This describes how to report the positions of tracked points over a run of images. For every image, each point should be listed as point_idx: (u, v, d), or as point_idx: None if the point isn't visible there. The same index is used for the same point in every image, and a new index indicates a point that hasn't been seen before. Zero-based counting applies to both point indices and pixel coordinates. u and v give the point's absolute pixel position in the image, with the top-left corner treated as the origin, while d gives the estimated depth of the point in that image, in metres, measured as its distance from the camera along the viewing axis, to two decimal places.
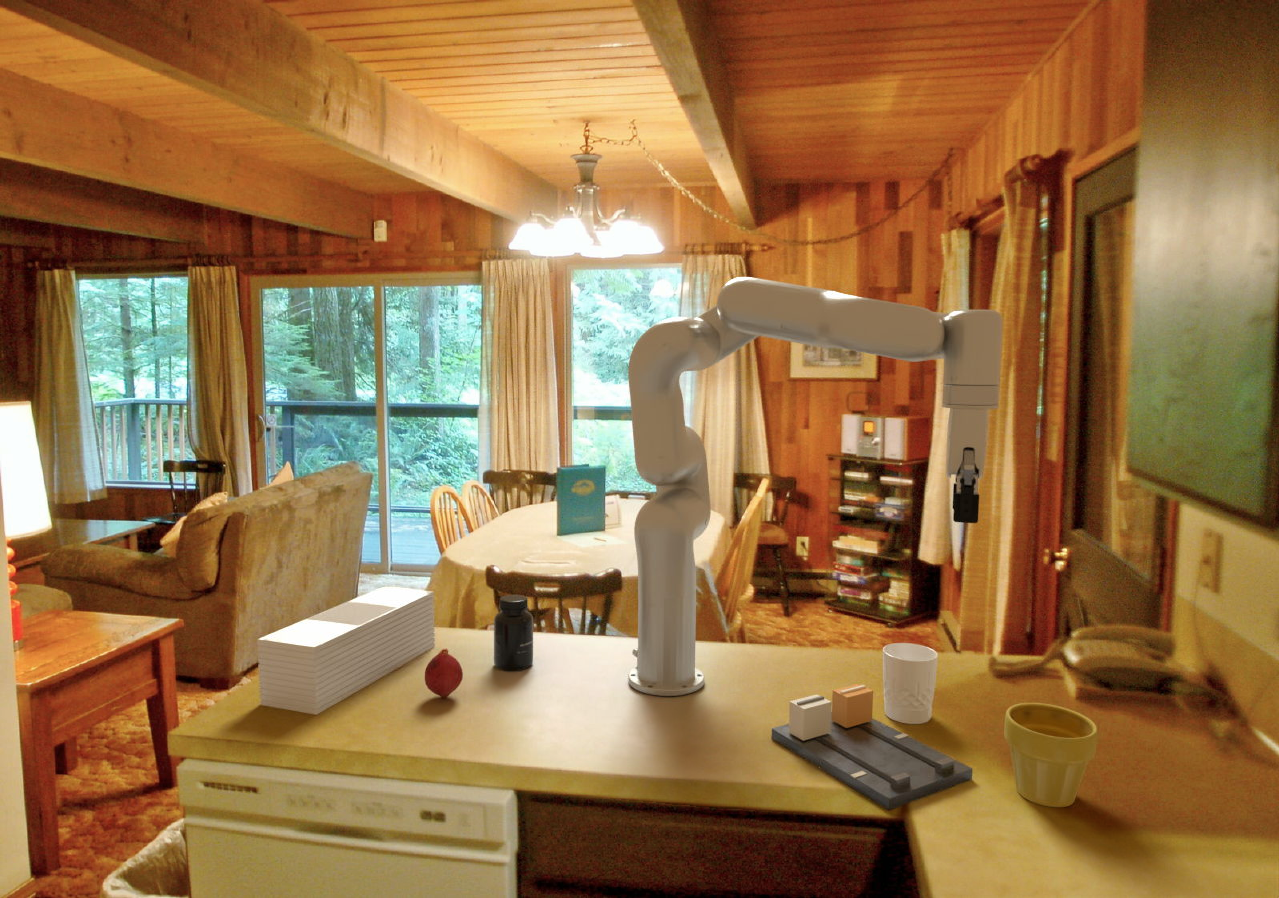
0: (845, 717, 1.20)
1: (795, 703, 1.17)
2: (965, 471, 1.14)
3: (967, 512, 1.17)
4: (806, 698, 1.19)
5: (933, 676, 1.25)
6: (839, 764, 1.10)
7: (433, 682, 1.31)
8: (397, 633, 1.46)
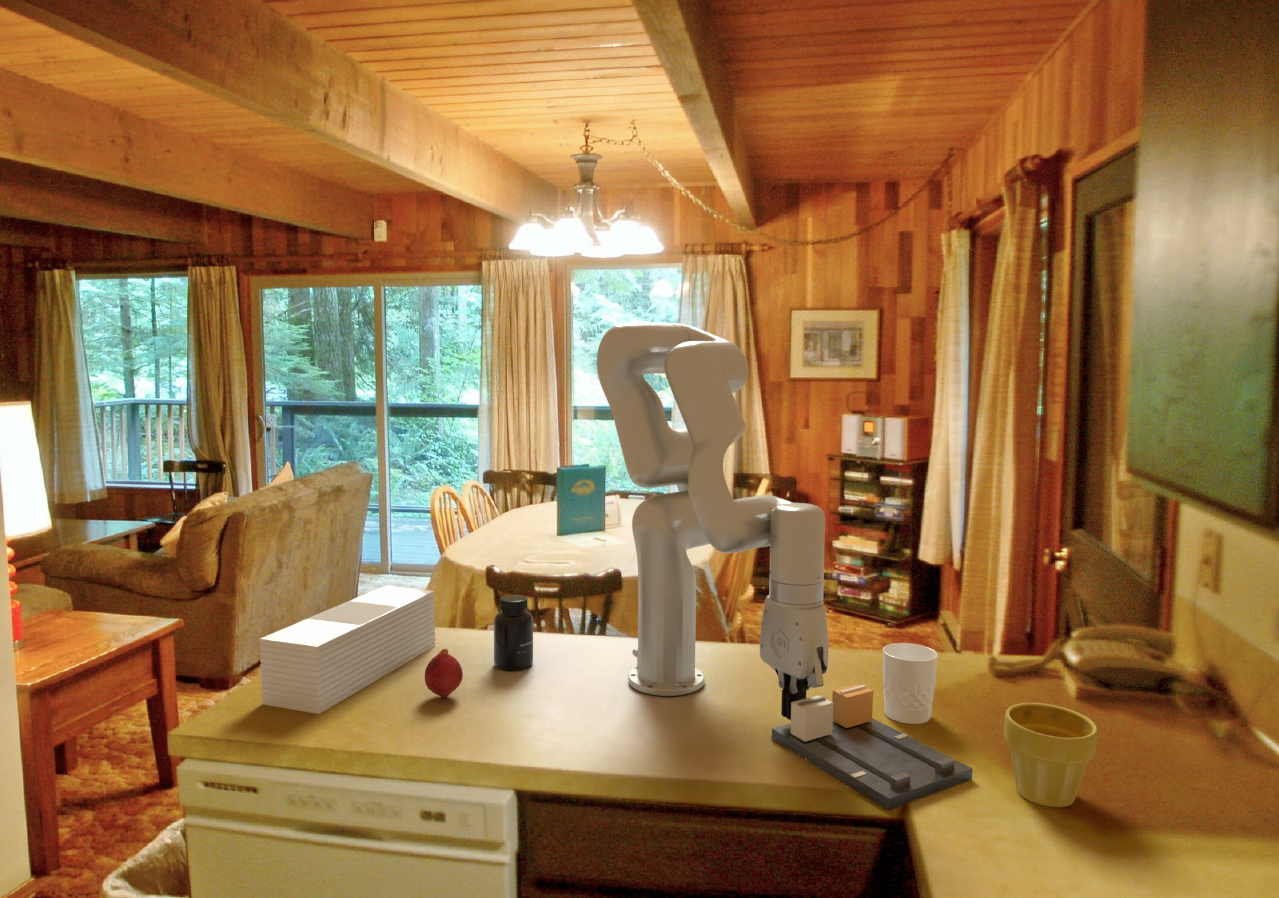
0: (845, 717, 1.20)
1: (797, 704, 1.17)
2: None
3: None
4: (808, 699, 1.19)
5: (933, 676, 1.25)
6: (839, 764, 1.10)
7: (433, 682, 1.31)
8: (398, 632, 1.47)
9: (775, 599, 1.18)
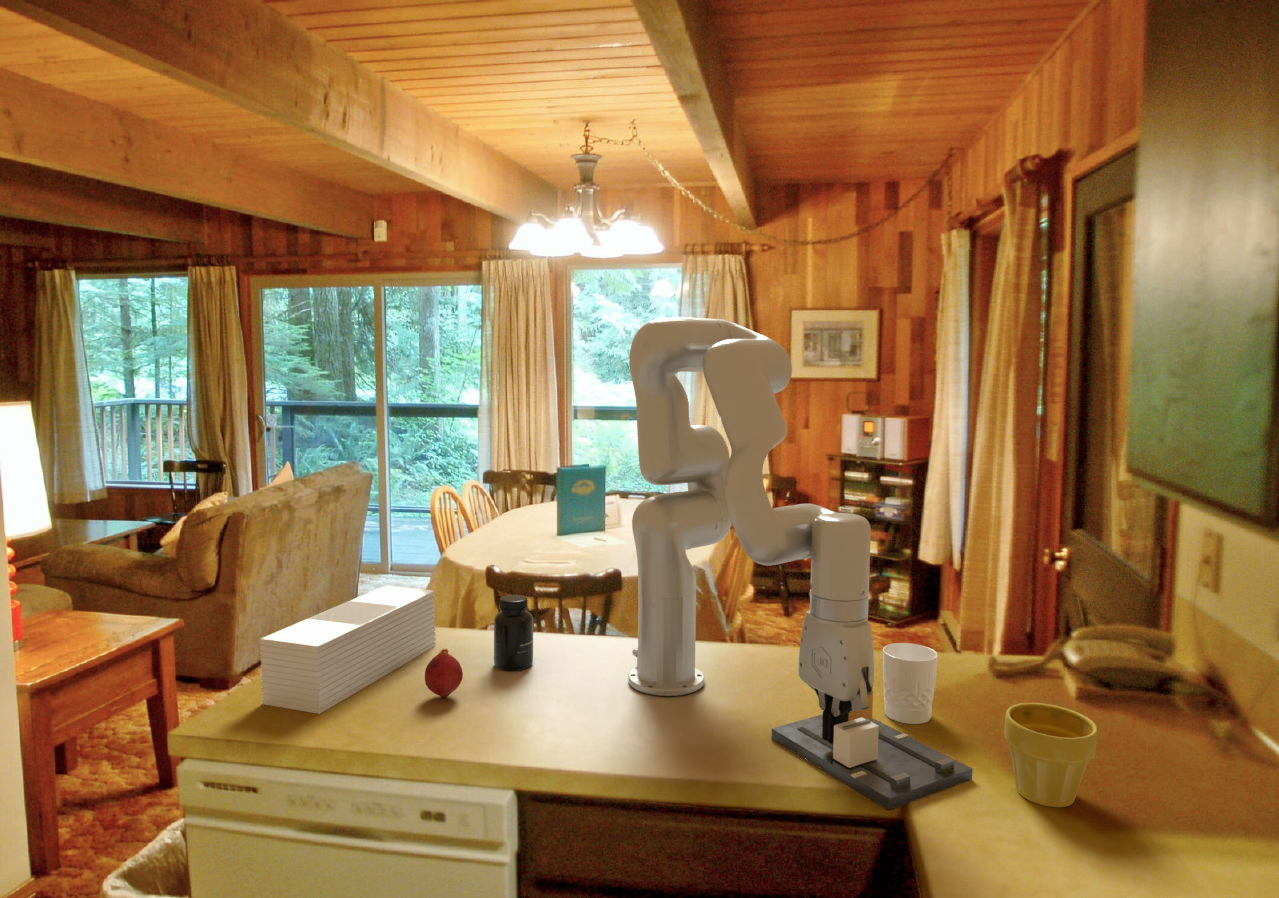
0: None
1: (840, 727, 1.10)
2: (859, 709, 1.09)
3: None
4: (851, 722, 1.11)
5: (933, 676, 1.25)
6: (839, 764, 1.10)
7: (433, 682, 1.31)
8: (398, 632, 1.47)
9: (817, 615, 1.10)
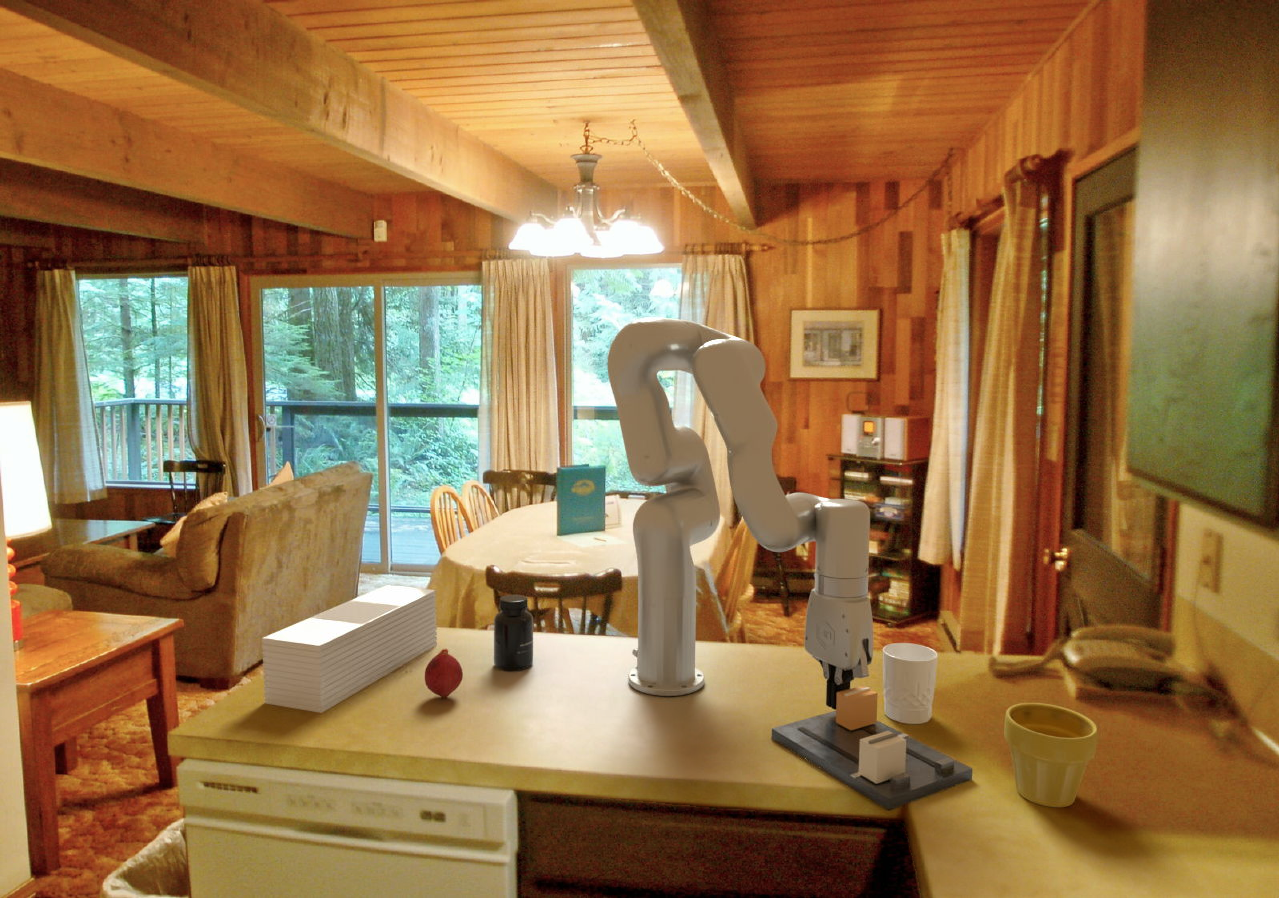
0: (850, 719, 1.19)
1: (866, 741, 1.06)
2: (860, 677, 1.20)
3: None
4: (877, 735, 1.07)
5: (933, 676, 1.25)
6: (839, 764, 1.10)
7: (433, 682, 1.31)
8: (400, 632, 1.47)
9: (821, 592, 1.21)
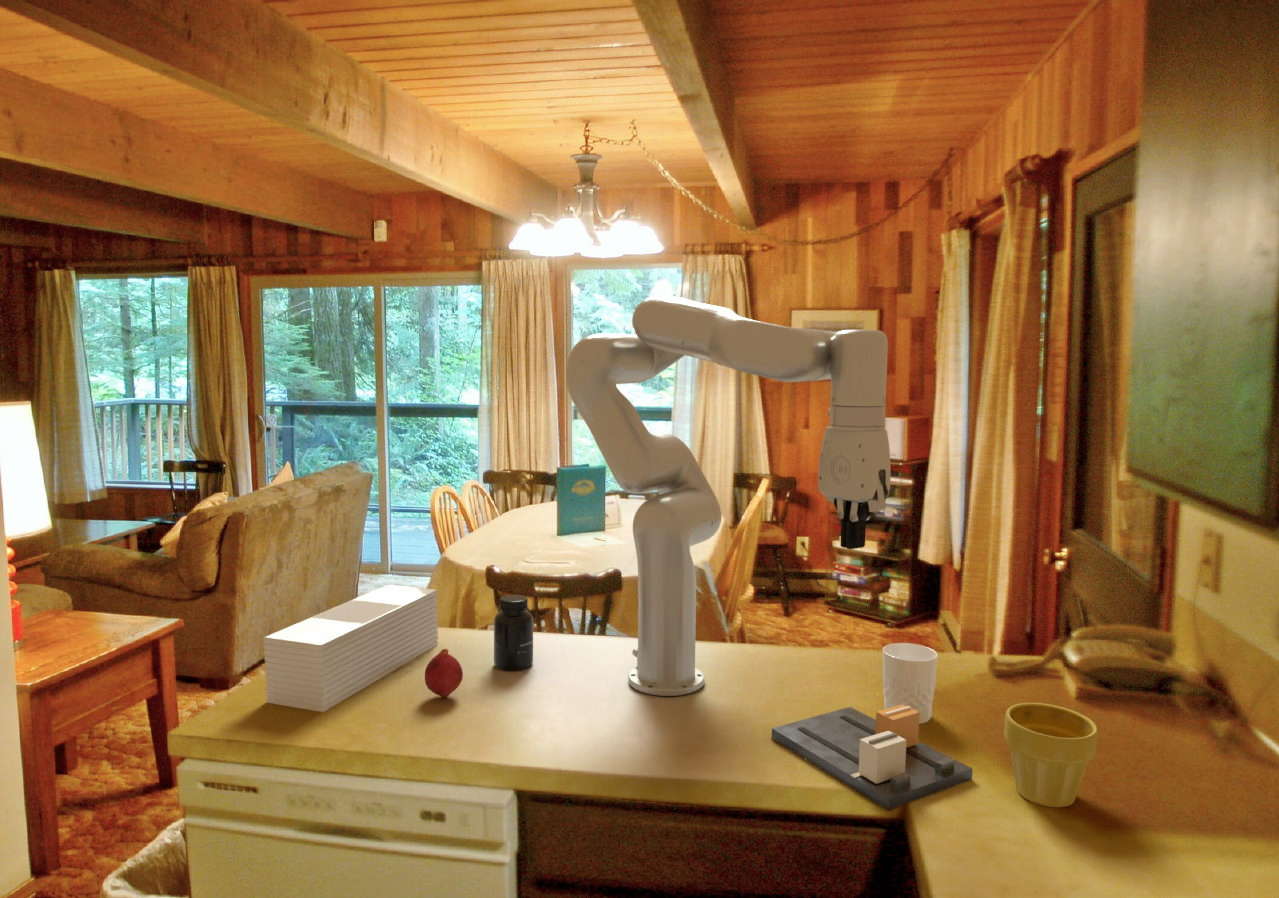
0: None
1: (866, 741, 1.06)
2: None
3: (861, 538, 1.19)
4: (877, 735, 1.07)
5: (933, 676, 1.25)
6: (839, 764, 1.10)
7: (433, 682, 1.31)
8: (401, 631, 1.47)
9: (837, 424, 1.17)
